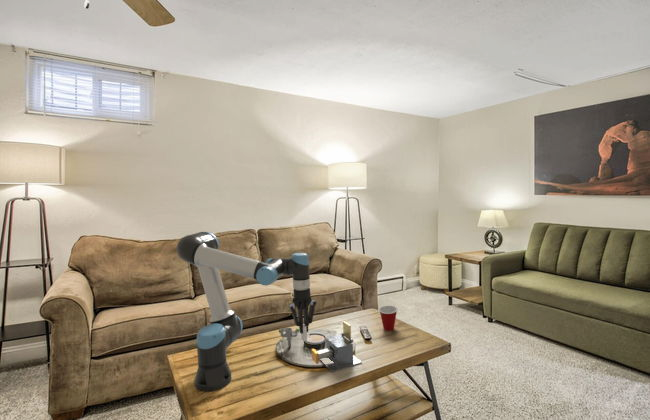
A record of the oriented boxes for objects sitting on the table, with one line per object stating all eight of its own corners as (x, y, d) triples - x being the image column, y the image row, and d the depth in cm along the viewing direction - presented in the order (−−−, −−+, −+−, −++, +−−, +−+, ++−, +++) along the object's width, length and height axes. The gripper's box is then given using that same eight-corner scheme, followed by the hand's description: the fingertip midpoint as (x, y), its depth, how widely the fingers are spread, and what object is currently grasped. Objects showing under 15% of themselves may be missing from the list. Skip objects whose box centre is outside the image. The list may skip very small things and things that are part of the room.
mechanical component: (299, 348, 176) (298, 329, 176) (279, 349, 176) (278, 330, 176) (299, 346, 179) (298, 327, 178) (280, 346, 179) (279, 327, 179)
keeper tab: (351, 339, 161) (349, 340, 161) (344, 335, 167) (343, 335, 166) (350, 325, 161) (349, 325, 160) (344, 321, 166) (343, 321, 166)
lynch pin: (316, 364, 154) (316, 353, 154) (312, 359, 159) (311, 349, 158) (343, 356, 160) (343, 346, 160) (338, 352, 165) (338, 342, 164)
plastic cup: (375, 328, 198) (374, 308, 198) (388, 323, 205) (388, 304, 204) (388, 334, 190) (387, 313, 189) (401, 329, 196) (401, 309, 195)
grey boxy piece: (331, 372, 153) (330, 348, 152) (318, 358, 165) (317, 336, 164) (361, 363, 160) (361, 339, 159) (346, 350, 172) (346, 329, 171)
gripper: (291, 292, 146) (293, 346, 147) (318, 287, 152) (321, 339, 153) (285, 288, 153) (287, 339, 154) (311, 283, 158) (314, 333, 160)
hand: (304, 339), depth 153 cm, fingers closed
